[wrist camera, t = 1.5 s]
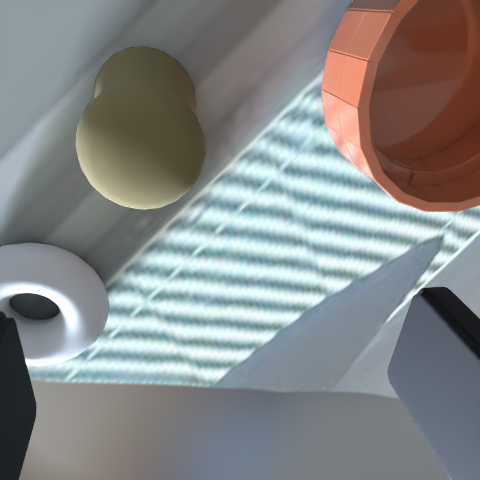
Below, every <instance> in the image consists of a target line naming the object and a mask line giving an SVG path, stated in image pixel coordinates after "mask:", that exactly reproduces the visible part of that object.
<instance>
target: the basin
mask: <svg viewBox="0 0 480 480" xmlns="http://www.w3.org/2000/svg"><path fill="white" fill-rule="evenodd" d="M328 49H329V50H328V53H327V59H326V64H325V70H324V76H323V82H322V89H321V92H322V101H323V109H324V117H325V124H326V126H327V129H328V131H329V133H330V135H331V137H332V139H333V141H334V143H335V145H336V147H337V149H338V151H339V152H340V153H341V154H342V155H343V156H344V157H345V158H346V159H347V160H348V161H349V162H350V163H351V164H353V165H354V166H355V167H356V168H357V169H358V170H359V171H360V172H361V173H363V174H364V175H365V176H366V177H368V178H369V179H370V180H371V181H372V182H374V183H375V184H376V185H377V186H378V187H380V188H381V189H382V190H383V191H384V192H386V193H387V194H388V195H389V196H391V197H392V198H393V199H394V200H395V201H397V202H399V203H402V204H405V205H408V206H410V207H413V208H416V209H419V210H421V211H426V212H457V211H458V212H459V211H462V210H465V209H469V208H472V207H475V206H479V205H480V0H353V2H352V3H351V4H350V5H349V7H348V8H347V10H346V11H345V13H344V15H343V18H342V20H341V22H340V24H339V26H338V28H337V31H336V33H335V35H334V37H333V39H332V42H331V44H330V46H329V48H328Z"/></svg>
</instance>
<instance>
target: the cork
mask: <svg viewBox="0 0 480 480" xmlns="http://www.w3.org/2000/svg"><path fill="white" fill-rule="evenodd" d="M195 107H196V104H195V91H194V88H193V85H192V83H191V80H190V78H189V75H188V74H187V72H186V71H185V70H184V69H183V67H182V66H181V65H180V63H179V62H178V61H177V60H175V59H174V58H172V57H171V56H169V55H168V54H166V53H165V52H163V51H160V50H157V49H153V48H150V47H130V48H128V49H125V50H123V51H120V52H118V53H116V54H114V55H113V56H112V57H111V58H110V59H109V60H108V61H107V62H106V63H104V64H103V66H102V68H101V70H100V72H99V74H98V76H97V78H96V80H95V88H94V99H93V100H92V101H91V102H90V103H89V104H88V105H87V107H86V109H85V111H84V113H83V115H82V117H81V119H80V121H79V123H78V126H77V135H76V144H75V145H76V150H77V154H78V158H79V162H80V166H81V169H82V170H83V172H84V174H85V175H86V177H87V179H88V180H89V182H90V184H91V185H92V186H93V187H94V188H95V189H96V190H97V191H99V192H100V193H101V194H102V195H103V196H104V197H105V198H107V199H109V200H111V201H113V202H115V203H117V204H119V205H121V206H124V207H130V208H136V209H141V210H142V209H152V208H160V207H163V206H165V205H168V204H170V203H173V202H175V201H177V200H178V199H179V198H181V197H182V196H183V195H184V194H185V193H187V192H188V191H189V190H190V189H191V187H192V186H193V184H194V183H195V181H196V180H197V178H198V176H199V175H200V173H201V170H202V166H203V162H204V158H205V154H206V153H205V139H204V133H203V131H202V128H201V126H200V123H199V121H198V118H197V116H196V114H195Z"/></svg>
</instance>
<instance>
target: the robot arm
mask: <svg viewBox="0 0 480 480" xmlns="http://www.w3.org/2000/svg"><path fill="white" fill-rule="evenodd" d="M388 379H389V382H390V384H391V385H392V387H393V389H394V390H395V392H396V394H397V395H398V397H399V398H400V400H401V401H402V403H403V405H404V406H405V408H406V410H407V411H408V413H409V415H410V416H411V418H412V419H413V421H414V422H415V424H416V426H417V427H418V429H419V431H420V432H421V434H422V435H423V437H424V439H425V440H426V442H427V443H428V445H429V447H430V448H431V450H432V452H433V453H434V455H435V456H436V458H437V460H438V461H439V463H440V464H441V466H442V468H443V469H444V471H445V473H446V474H447V476H448V477H449V479H450V480H480V319H479V318H478V317H477V316H476V315H475V314H474V313H473V312H472V311H471V310H470V309H469V308H468V307H467V306H466V305H465V304H464V303H463V302H462V301H461V300H460V299H459V298H458V297H457V296H456V295H455V294H454V293H453V292H452V291H451V290H449V289H448V288H446V287H432V288H422V289H421V290H420V291H419V292H418V294H416V295H415V296H414V297H413V299H412V301H411V304H410V307H409V310H408V313H407V316H406V318H405V321H404V324H403V327H402V330H401V333H400V336H399V338H398V341H397V344H396V347H395V350H394V353H393V356H392V358H391V361H390V364H389V367H388ZM35 418H36V401H35V397H34V393H33V389H32V385H31V381H30V377H29V373H28V369H27V365H26V361H25V357H24V353H23V349H22V345H21V341H20V337H19V333H18V329H17V325H16V322H15V319H14V318H6V315H5V313H4V312H2V311H0V480H19V476H20V473H21V469H22V466H23V462H24V458H25V455H26V451H27V447H28V444H29V440H30V437H31V433H32V430H33V426H34V422H35Z"/></svg>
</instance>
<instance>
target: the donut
mask: <svg viewBox="0 0 480 480" xmlns="http://www.w3.org/2000/svg"><path fill="white" fill-rule="evenodd" d="M23 293H33V294H39V295H42V296H45V297H48V298H49V299H51V300H52V301H54V302H55V303H56V304H57V306H58V307H59V310H60V312H59V314H58V315H57V316H55V317H53V318H50V319H44V320H36V319H30V318H27V317H24V316H22V315H20V314H19V313H17V312H15V310H14V309H13V308H12V307H11V306H10V303H9V300H10V298H11V297H13V296H14V295H17V294H23ZM108 310H109V301H108V297H107V293H106V289H105V285H104V283H103V282H102V281H101V279H100V278H99V276H98V275H97V273H96V272H95V270H94V269H93V268H92V267H91V266H90V265H88V264H87V263H86V262H84V261H83V260H82V259H80V258H79V257H78V256H77V255H75V254H73V253H70V252H68V251H66V250H63V249H61V248H58V247H56V246H52V245H45V244H38V243H31V242H30V243H20V244H11V245H3V246H1V247H0V311H2V312H4V313H5V315H6V318H14V319H15V322H16V325H17V329H18V333H19V337H20V341H21V345H22V349H23V353H24V357H25V361H26V365H27V366H42V365H49V364H55V363H60V362H63V361H65V360H68V359H70V358H73V357H75V356H78V355H79V354H80V353H81V352H83V351H84V350H85V349H87V348H88V347H89V346H91V345H92V344H93V343H94V342H95V341H96V339H97V338H98V336H99V335H100V333H101V332H102V330H103V329H104V327H105V325H106V321H107V316H108Z"/></svg>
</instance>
